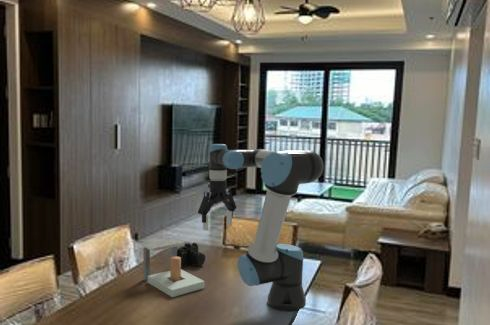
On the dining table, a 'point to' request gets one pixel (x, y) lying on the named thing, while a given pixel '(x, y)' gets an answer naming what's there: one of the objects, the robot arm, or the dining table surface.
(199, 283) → the socket board
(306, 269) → the dining table surface
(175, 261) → the peg
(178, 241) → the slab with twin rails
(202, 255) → the camera
